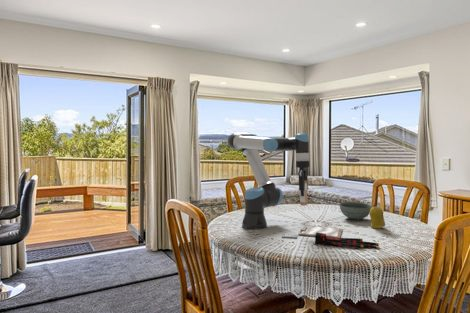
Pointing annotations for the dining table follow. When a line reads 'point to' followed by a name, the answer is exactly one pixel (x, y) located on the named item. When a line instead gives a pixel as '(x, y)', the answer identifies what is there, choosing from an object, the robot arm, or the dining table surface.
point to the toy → (344, 241)
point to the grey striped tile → (289, 235)
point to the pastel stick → (305, 195)
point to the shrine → (376, 217)
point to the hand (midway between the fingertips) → (303, 201)
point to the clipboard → (320, 231)
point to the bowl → (355, 210)
